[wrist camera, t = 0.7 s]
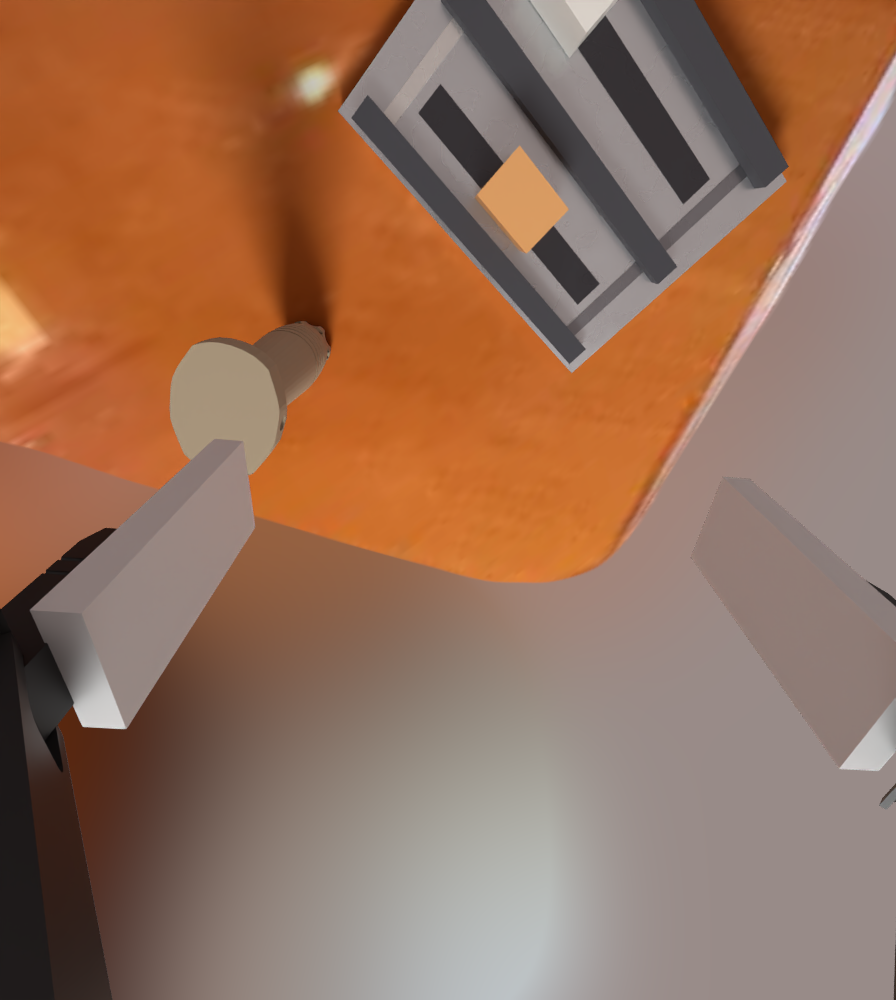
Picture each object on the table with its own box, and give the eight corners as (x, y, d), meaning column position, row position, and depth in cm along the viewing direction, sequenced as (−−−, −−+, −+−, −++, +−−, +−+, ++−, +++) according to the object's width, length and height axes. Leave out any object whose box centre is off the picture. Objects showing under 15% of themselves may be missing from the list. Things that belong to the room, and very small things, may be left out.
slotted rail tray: (355, 121, 28) (351, 117, 27) (572, -184, 22) (578, -204, 21) (565, 359, 34) (569, 364, 33) (776, 168, 29) (788, 166, 28)
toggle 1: (474, 197, 30) (476, 194, 26) (512, 154, 29) (519, 145, 25) (518, 250, 31) (526, 253, 27) (556, 210, 30) (569, 209, 26)
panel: (343, 116, 29) (337, 110, 28) (554, -186, 23) (560, -211, 22) (567, 367, 36) (571, 373, 35) (772, 182, 30) (787, 181, 29)
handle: (352, 310, 34) (288, 364, 21) (333, 395, 37) (267, 487, 24) (283, 286, 34) (174, 326, 21) (269, 374, 37) (166, 458, 24)
